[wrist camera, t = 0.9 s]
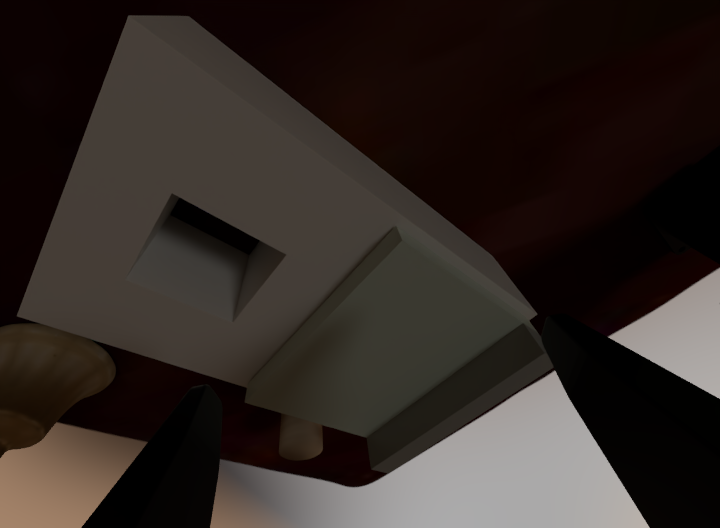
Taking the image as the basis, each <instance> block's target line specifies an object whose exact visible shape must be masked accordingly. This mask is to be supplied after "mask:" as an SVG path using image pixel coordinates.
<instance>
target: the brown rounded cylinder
mask: <svg viewBox="0 0 720 528" xmlns="http://www.w3.org/2000/svg"><path fill="white" fill-rule="evenodd" d="M322 450H323V438H322V425H321V424H317V423H314V422H311V421H307V420H304V419H300V418H297V417H293V416H290V415H286V414H283V413H281V428H280V444H279V454H280V455H281V456H282V457H284V458H286V459H289V460H306V459H310V458H313V457H315V456H317V455H319V454H320V453H321V452H322Z"/></svg>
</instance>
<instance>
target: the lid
mask: <svg viewBox="0 0 720 528" xmlns="http://www.w3.org/2000/svg"><path fill="white" fill-rule="evenodd" d="M552 368H553V365H552V363H551V361H550V358H549V356H548V354H547V352H546V350H545V348H544V346H543V344H542V340H541V336H540V335H539V334H538V332H537V331H536V330H535V328H534V327H533V325H532V324H531V323H530V321H529V320H528V319H527V317H525V316H524V315H522V314H521V313H520V312H518V311H517V310H515V309H514V308H512V307H511V306H510V305H508V304H507V303H505V302H504V301H502V300H501V299H500V298H498V297H497V296H495V295H494V294H492V293H491V292H490V291H488V290H487V289H485V288H484V287H483V286H481V285H480V284H478V283H477V282H475V281H474V280H473V279H471V278H470V277H468V276H467V275H465V274H464V273H463V272H461V271H460V270H458V269H457V268H456V267H454V266H453V265H451V264H450V263H448V262H447V261H446V260H444V259H443V258H441V257H440V256H438V255H437V254H436V253H434V252H433V251H431V250H430V249H428V248H427V247H426V246H424V245H423V244H421V243H420V242H419V241H417V240H416V239H414V238H413V237H411V236H410V235H409V234H407V233H406V232H404V231H403V230H401V229H400V228H399V227H397V226H395V227H394V228H393V230H392V231H391V232H390V233H389V234H388V235H387V236H386V237H385V238H384V239H383V240H382V241H381V242H380V243H379V244H378V246H377V247H376V248H375V249H374V250H373V251H372V252H371V253H370V254H369V255H368V256H367V257H366V258H365V259H364V260H363V261H362V263H361V264H360V265H359V266H358V267H357V268H356V269H355V270H354V271H353V272H352V273H351V274H350V275H349V276H348V277H347V279H346V280H345V281H344V282H343V283H342V284H341V285H340V286H339V287H338V288H337V289H336V290H335V291H334V292H333V293H332V295H331V296H330V297H329V298H328V299H327V300H326V301H325V302H324V303H323V304H322V305H321V306H320V307H319V308H318V309H317V311H316V312H315V313H314V314H313V315H312V316H311V317H310V318H309V319H308V320H307V321H306V322H305V323H304V324H303V325H302V327H301V328H300V329H299V330H298V331H297V332H296V333H295V334H294V335H293V336H292V337H291V338H290V339H289V340H288V341H287V342H286V344H285V345H284V346H283V347H282V348H281V349H280V350H279V351H278V352H277V353H276V354H275V355H274V356H273V357H272V358H271V360H270V361H269V362H268V363H267V364H266V365H265V366H264V367H263V368H262V369H261V370H260V371H259V372H258V373H257V374H256V376H255V377H254V378H253V379H252V380H251V381H250V382H249V383H248V385H247V391H246V398H245V403H248V404H252V405H255V406H259V407H262V408H265V409H269V410H272V411H276V412H279V413H283V414H286V415H290V416H293V417H297V418H300V419H304V420H307V421H311V422H314V423H317V424H321V425H324V426H328V427H331V428H335V429H338V430H342V431H345V432H349V433H352V434H356V435H359V436H363V437H366V438H367V444H368V451H369V458H370V465H371V469H372V470H376V471H381V472H385V473H390V472H391V471H393V470H394V469H396V468H397V467H399V466H401V465H402V464H404V463H405V462H407V461H408V460H410V459H411V458H413V457H415V456H416V455H418V454H419V453H421V452H422V451H424V450H425V449H427V448H429V447H430V446H432V445H433V444H435V443H436V442H438V441H439V440H441V439H443V438H444V437H446V436H447V435H449V434H450V433H452V432H454V431H455V430H457V429H458V428H460V427H461V426H463V425H464V424H466V423H468V422H469V421H471V420H472V419H474V418H475V417H477V416H478V415H480V414H482V413H483V412H485V411H486V410H488V409H489V408H491V407H492V406H494V405H496V404H497V403H499V402H500V401H502V400H503V399H505V398H507V397H508V396H510V395H511V394H513V393H514V392H516V391H517V390H519V389H521V388H522V387H524V386H525V385H527V384H528V383H530V382H531V381H533V380H535V379H536V378H538V377H539V376H541V375H542V374H544V373H545V372H547V371H549V370H550V369H552Z"/></svg>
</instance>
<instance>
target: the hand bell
mask: <svg viewBox="0 0 720 528" xmlns="http://www.w3.org/2000/svg"><path fill="white" fill-rule="evenodd" d="M115 373H116V367H115V364H114V362H113V360H112V358H111V357H110V355H109V354H108V353H107V352H106V351H105V350H104V349H103V348H102V347H101V346H99V345H98V344H96V343H95V342H93V341H92V340H90V339H88V338H85V337H82V336H79V335H76V334H73V333H69V332H66V331H63V330H60V329H57V328H53V327H50V326H47V325H44V324H32V323H24V324H22V323H21V324H12V325H7V326H3V327H0V458H1V456H2V455H3V454H4V453H5V452H6V451H8V450H12V449H21V448H26V447H30V446H32V445H34V444H37V443H38V442H39V441H41V440H42V439H43V438H44V437H45V436H46V434H47V433H48V432H49V430H50V429H51V427H53V426H54V424H55V423H56V422H57V421H58V420H59V418H60V417H61V416H62V415H63V414H64V413H65V412H66V411H67V410H68V409H69V408H70V407H72V406H73V405H74V404H75V403H76V402H78V401H80V400H81V399H83V398H86V397H89V396H92V395H94V394H96V393H98V392H100V391H102V390H103V389H104V388H106V387H107V386H108V385H109V384H110V383H111V382H112V381H113V379H114V377H115Z"/></svg>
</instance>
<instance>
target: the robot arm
mask: <svg viewBox="0 0 720 528" xmlns="http://www.w3.org/2000/svg"><path fill="white" fill-rule="evenodd" d="M643 213H644V215H645V216H646V218H647V219H648V220H649V222H650V223H651V224H652V226H653V227H654V228H655V230H656V231H657V233H658V234H659V235H660V237H661V238H662V239H663V241H664V242H665V243H666V245H667V246H668V247H669V249H670V250H671V251H672V252H674V253H675V254H677V255H679V254H682V253H684V252H685V251H687V250H688V249H690V248H691V247H692V248H693V249H695V250H697V251H698V252H700V253H702V254H703V255H705V256H707V257H708V258H710V259H712V260H713V261H715V262H717V263H718V264H720V150H719V151H718V152H716V153H715V154H714V155H712V156H711V157H710V158H708V159H707V160H706V161H704V162H703V163H702V164H701V165H699V166H698V167H697V168H695V169H694V170H693V171H691V172H690V173H689V174H687V175H686V176H685V177H684V178H682V179H681V180H680V181H678V182H677V183H676V184H674V185H673V186H672V187H670V188H669V189H668V190H667V191H665V192H664V193H663V194H661V195H660V196H659V197H657V198H656V199H655V200H654V201H652V202H651V203H650V204H648V205H647V206H646V207H645V209H644V211H643ZM541 340H542V344H543V346H544V348H545V350H546V352H547V354H548V356H549V358H550V361H551V363H552V365H553V367H554V369H555V371H556V373H557V375H558V377H559V379H560V381H561V383H562V385H563V387H564V389H565V391H566V393H567V395H568V397H569V399H570V400H571V402H572V404H573V405H574V407H575V409H576V410H577V412H578V413H579V415H580V417H581V418H582V420H583V421H584V423H585V425H586V426H587V428H588V429H589V431H590V433H591V434H592V436H593V438H594V439H595V441H596V442H597V444H598V446H599V447H600V449H601V450H602V452H603V454H604V455H605V457H606V458H607V460H608V462H609V463H610V465H611V466H612V468H613V470H614V471H615V473H616V474H617V476H618V478H619V479H620V481H621V482H622V484H623V486H624V487H625V489H626V490H627V492H628V493H629V495H630V497H631V498H632V500H633V502H634V503H635V505H636V506H637V508H638V510H639V511H640V513H641V514H642V516H643V518H644V519H645V520H646V522H647V524H648V526H649V527H650V528H720V399H719V398H717V397H715V396H713V395H711V394H709V393H708V392H706V391H704V390H702V389H701V388H699V387H697V386H695V385H693V384H692V383H690V382H688V381H686V380H684V379H683V378H681V377H679V376H677V375H675V374H673V373H672V372H670V371H668V370H666V369H664V368H663V367H661V366H659V365H657V364H655V363H653V362H652V361H650V360H648V359H646V358H644V357H642V356H641V355H639V354H637V353H635V352H634V351H632V350H630V349H628V348H626V347H624V346H623V345H621V344H619V343H617V342H615V341H614V340H612V339H610V338H608V337H606V336H605V335H603V334H601V333H599V332H597V331H596V330H594V329H592V328H590V327H588V326H586V325H585V324H583V323H581V322H579V321H577V320H576V319H574V318H572V317H570V316H568V315H566V314H556V315H551V316H548V317H547V318H546V320H545V324H544V328H543V331H542V335H541ZM221 427H222V403H221V400H220V399H219V397H218V396H217V395H216V393H215V392H214V391H213V389H212V388H211V387H210V386H209V385H207V384H205V385H200V386H195V387H192V388H191V389H190V390H189V391H188V392H187V393H186V394H185V396H184V397H183V398H182V400H181V401H180V402H179V403H178V405H177V406H176V407H175V409H174V410H173V411H172V412H171V414H170V415H169V416H168V418H167V419H166V420H165V421H164V423H163V424H162V425H161V426H160V428H159V429H158V430H157V432H156V433H155V434H154V435H153V437H152V438H151V439H150V441H149V442H148V443H147V444H146V446H145V447H144V448H143V450H142V451H141V452H140V453H139V455H138V456H137V457H136V458H135V460H134V461H133V462H132V464H131V465H130V466H129V467H128V469H127V470H126V471H125V473H124V474H123V475H122V476H121V478H120V479H119V480H118V481H117V483H116V484H115V485H114V487H113V488H112V489H111V490H110V492H109V493H108V494H107V496H106V497H105V498H104V499H103V501H102V502H101V503H100V505H99V506H98V507H97V508H96V510H95V511H94V512H93V513H92V515H91V516H90V517H89V519H88V520H87V521H86V523H85V524H84V525H83V526H82V528H210V524H211V517H212V511H213V504H214V498H215V492H216V485H217V480H218V472H219V462H220V445H221Z"/></svg>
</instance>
